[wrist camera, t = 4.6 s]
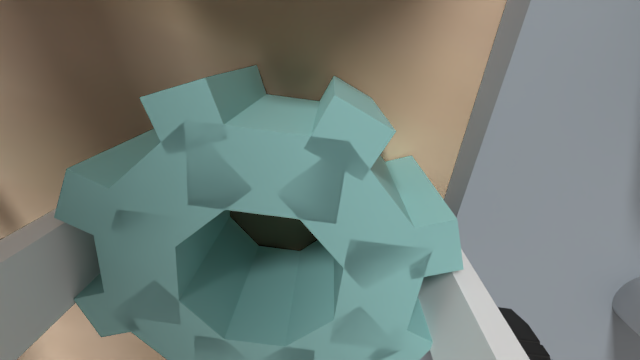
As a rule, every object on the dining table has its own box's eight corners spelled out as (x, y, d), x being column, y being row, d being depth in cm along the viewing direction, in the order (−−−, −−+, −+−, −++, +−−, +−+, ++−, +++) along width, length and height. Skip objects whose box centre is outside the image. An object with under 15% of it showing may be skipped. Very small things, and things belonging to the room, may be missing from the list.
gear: (143, 49, 11) (14, 52, 7) (445, 90, 11) (519, 119, 7) (164, 287, 16) (94, 388, 11) (384, 315, 16) (404, 425, 11)
